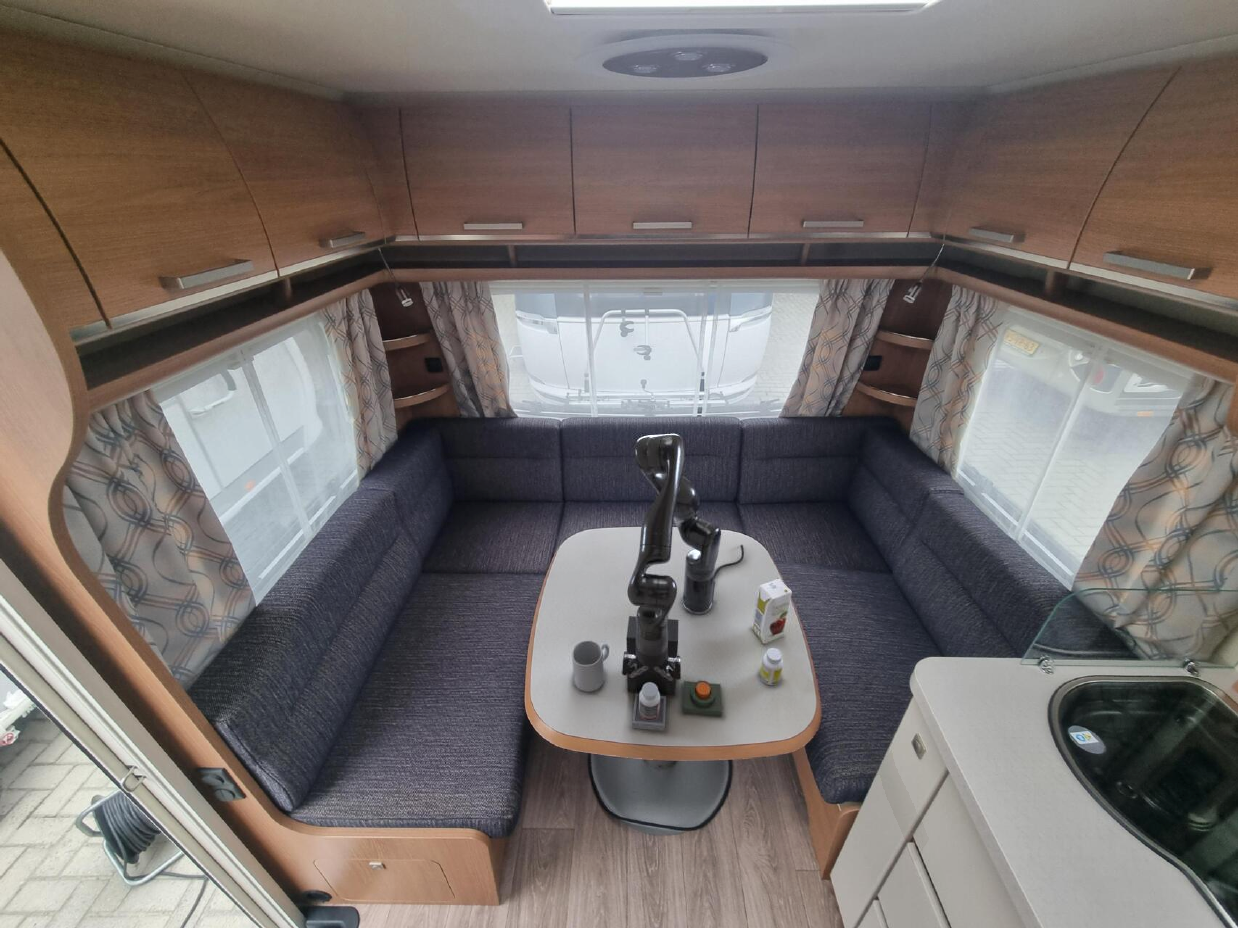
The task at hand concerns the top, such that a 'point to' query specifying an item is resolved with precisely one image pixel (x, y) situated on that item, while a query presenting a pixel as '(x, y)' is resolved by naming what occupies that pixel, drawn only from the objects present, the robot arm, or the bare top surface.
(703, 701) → the button block
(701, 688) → the button
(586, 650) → the mug
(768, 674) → the supplement bottle
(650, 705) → the pill bottle
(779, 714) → the top surface
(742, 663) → the top surface
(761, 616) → the juice carton
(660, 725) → the coffee maker
